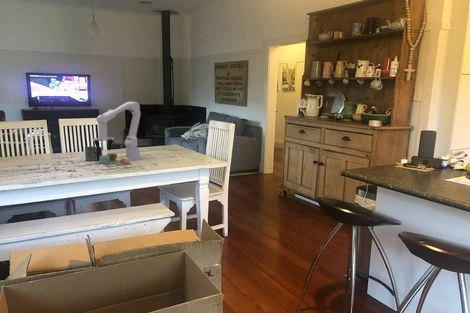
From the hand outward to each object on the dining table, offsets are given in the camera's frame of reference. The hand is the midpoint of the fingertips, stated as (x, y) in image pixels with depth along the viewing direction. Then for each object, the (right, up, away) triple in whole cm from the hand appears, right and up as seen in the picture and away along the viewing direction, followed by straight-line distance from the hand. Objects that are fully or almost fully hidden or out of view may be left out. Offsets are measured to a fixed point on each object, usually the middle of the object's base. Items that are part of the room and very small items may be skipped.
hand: (104, 150), depth 256 cm
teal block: (0, -9, +2) cm, 10 cm away
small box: (-11, -8, +10) cm, 17 cm away
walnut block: (+3, -8, +10) cm, 13 cm away
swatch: (+9, -11, -9) cm, 17 cm away
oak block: (+14, -10, -2) cm, 17 cm away
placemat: (+11, -10, -3) cm, 15 cm away
